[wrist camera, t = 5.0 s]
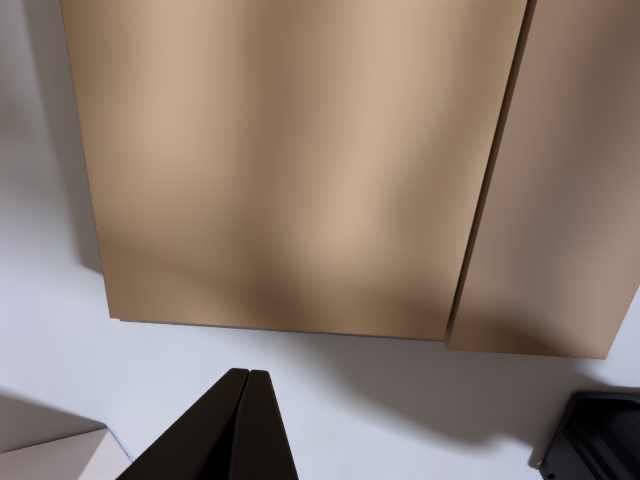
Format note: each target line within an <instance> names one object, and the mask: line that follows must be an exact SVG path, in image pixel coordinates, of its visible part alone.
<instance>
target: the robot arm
mask: <svg viewBox="0 0 640 480" xmlns="http://www.w3.org/2000/svg"><path fill="white" fill-rule="evenodd" d="M539 472H540V474H541V476H542V478H543V479H544V480H640V395H632V394H616V393H599V392H578V393H575V394H574V395H572V397H571V398H570V401H569V403H568V405H567V408H566V410H565V412H564V414H563V417H562V419H561V421H560V424H559V426H558V428H557V431H556V433H555V435H554V437H553V440H552V442H551V444H550V447H549V449H548V451H547V454H546V456H545V458H544V460H543V463H542V465H541V467H540V470H539ZM115 480H299V478H298V475H297V471H296V468H295V464H294V460H293V457H292V453H291V450H290V446H289V442H288V439H287V435H286V432H285V428H284V425H283V421H282V417H281V414H280V410H279V407H278V403H277V399H276V396H275V392H274V389H273V385H272V381H271V378H270V374H269V372H268V371H264V370H251V371H250V372H249V370H248V369H241V368H232V369H230V370H229V371H228V372H227V373H226V374H224V375H223V376H222V377H221V378H220V379H219V380H218V381H217V382H216V383H215V384H214V385H213V386H212V387H211V388H210V389H209V390H208V391H207V392H206V393H205V394H204V395H203V396H202V397H200V398H199V399H198V400H197V401H196V402H195V403H194V404H193V405H192V406H191V407H190V408H189V409H188V410H187V411H186V412H185V413H184V414H183V415H182V416H181V417H180V418H179V419H178V420H176V421H175V422H174V423H173V424H172V425H171V426H170V427H169V428H168V429H167V430H166V431H165V432H164V433H163V434H162V435H161V436H160V437H159V438H158V439H157V440H156V441H155V442H154V443H152V444H151V445H150V446H149V447H148V448H147V449H146V450H145V451H144V452H143V453H142V454H141V455H140V456H139V457H138V458H137V459H136V460H135V461H134V462H133V463H132V464H131V465H130V466H129V467H127V468H126V469H125V470H124V471H123V472H122V473H121V474H120V475H119V476H118V477H117V478H116V479H115Z"/></svg>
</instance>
